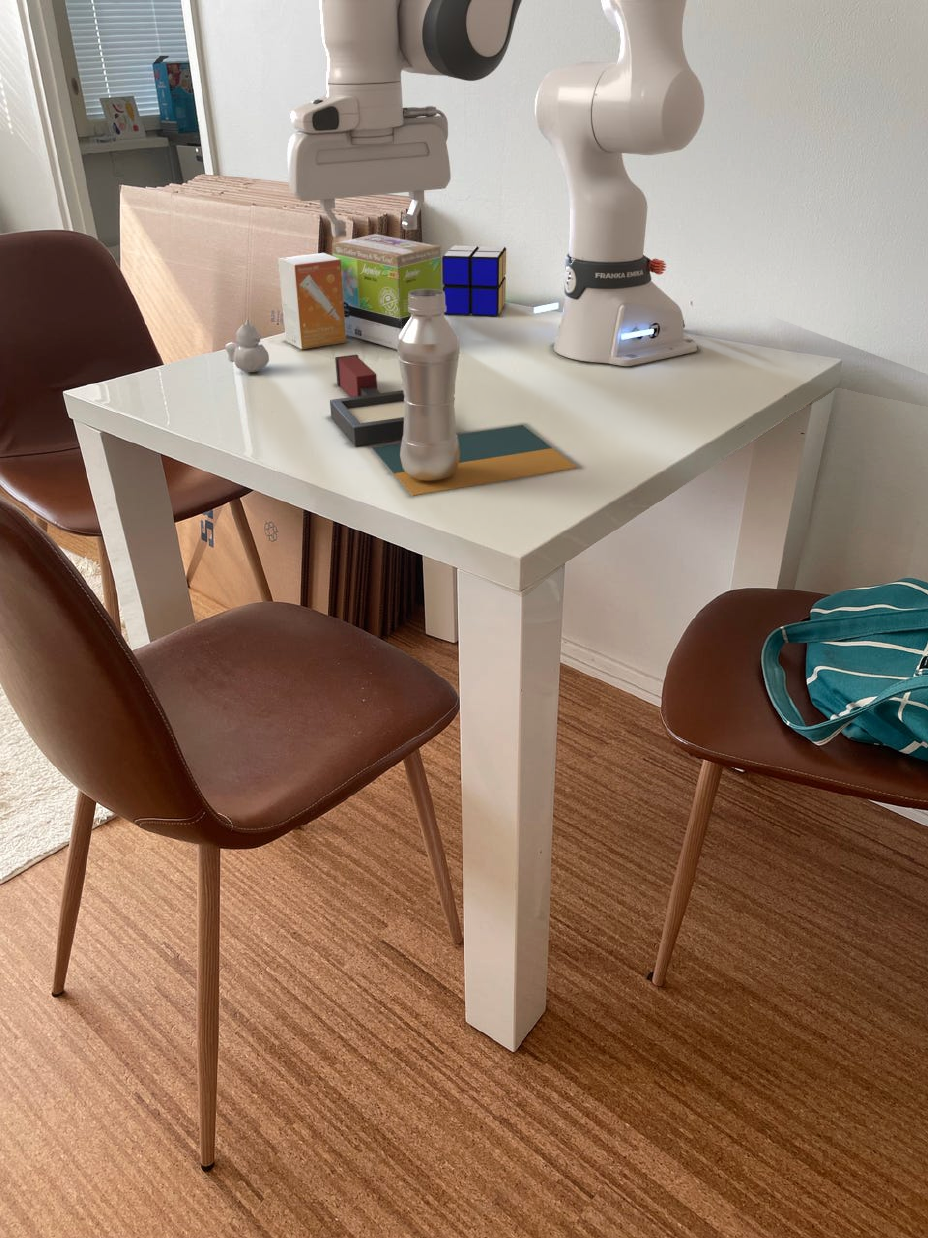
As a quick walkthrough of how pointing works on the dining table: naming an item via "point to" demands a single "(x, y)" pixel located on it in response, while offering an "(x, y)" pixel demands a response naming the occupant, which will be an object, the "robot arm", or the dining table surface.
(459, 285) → the puzzle cube
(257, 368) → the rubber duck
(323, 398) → the dining table surface
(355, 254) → the tea box
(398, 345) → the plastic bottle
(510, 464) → the mat
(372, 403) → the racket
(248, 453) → the dining table surface
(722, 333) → the dining table surface
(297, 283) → the small box
